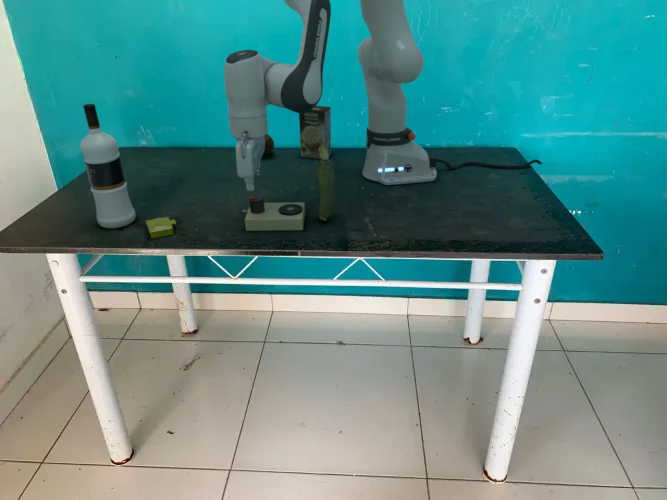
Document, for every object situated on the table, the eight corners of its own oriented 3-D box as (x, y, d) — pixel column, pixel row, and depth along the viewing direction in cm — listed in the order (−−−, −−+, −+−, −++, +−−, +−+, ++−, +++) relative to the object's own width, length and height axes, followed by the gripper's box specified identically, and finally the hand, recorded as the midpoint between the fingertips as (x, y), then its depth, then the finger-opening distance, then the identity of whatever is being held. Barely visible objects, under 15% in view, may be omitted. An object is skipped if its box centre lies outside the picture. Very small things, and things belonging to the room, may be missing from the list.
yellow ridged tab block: (140, 225, 132) (138, 215, 130) (177, 218, 135) (175, 208, 134) (145, 242, 124) (143, 231, 122) (184, 234, 127) (182, 224, 126)
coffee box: (299, 157, 175) (297, 109, 167) (306, 151, 180) (304, 104, 172) (325, 159, 172) (324, 110, 164) (332, 153, 177) (331, 106, 169)
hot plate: (305, 212, 137) (304, 201, 135) (302, 230, 128) (302, 218, 126) (246, 213, 137) (245, 202, 135) (240, 230, 128) (238, 219, 127)
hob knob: (265, 207, 133) (264, 194, 131) (263, 213, 129) (262, 200, 128) (251, 207, 133) (250, 194, 131) (249, 214, 129) (247, 200, 128)
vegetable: (331, 216, 135) (329, 140, 125) (338, 222, 131) (337, 145, 121) (315, 219, 133) (312, 143, 123) (323, 226, 129) (320, 148, 120)
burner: (303, 205, 133) (303, 203, 133) (301, 215, 128) (301, 213, 128) (279, 205, 134) (279, 203, 133) (277, 215, 128) (277, 213, 128)
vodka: (131, 228, 130) (103, 108, 116) (93, 231, 130) (60, 110, 115) (140, 213, 138) (114, 98, 124) (104, 215, 138) (74, 100, 123)
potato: (277, 148, 184) (275, 125, 180) (274, 160, 172) (272, 136, 168) (253, 148, 183) (251, 126, 180) (249, 161, 172) (246, 137, 168)
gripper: (255, 139, 111) (261, 199, 118) (267, 114, 129) (271, 167, 136) (226, 139, 111) (233, 199, 118) (242, 114, 129) (247, 167, 136)
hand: (254, 182), depth 127 cm, fingers open, 8 cm apart
